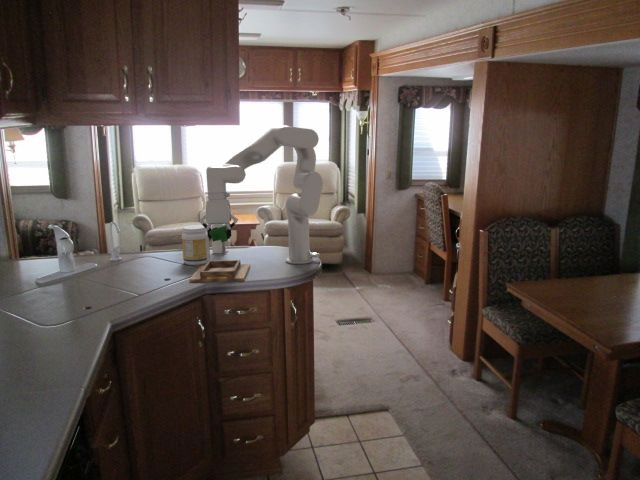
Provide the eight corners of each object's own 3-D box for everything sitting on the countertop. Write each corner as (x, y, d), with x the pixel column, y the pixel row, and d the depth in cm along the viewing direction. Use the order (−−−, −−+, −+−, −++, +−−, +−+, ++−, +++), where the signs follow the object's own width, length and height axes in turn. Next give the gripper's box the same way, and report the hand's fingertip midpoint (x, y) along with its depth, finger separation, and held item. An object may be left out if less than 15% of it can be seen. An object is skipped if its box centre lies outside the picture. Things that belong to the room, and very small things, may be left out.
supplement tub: (190, 258, 238) (188, 224, 234) (214, 259, 235) (212, 224, 232) (178, 265, 226) (176, 229, 222) (203, 266, 224) (201, 229, 220)
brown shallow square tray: (250, 266, 221) (249, 258, 221) (244, 281, 200) (243, 272, 199) (201, 267, 221) (200, 259, 220) (189, 282, 199) (188, 273, 199)
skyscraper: (208, 254, 246) (205, 199, 240) (213, 251, 254) (209, 197, 248) (225, 254, 245) (222, 198, 239) (229, 251, 253) (226, 196, 247)
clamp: (218, 248, 212) (214, 228, 213) (232, 244, 212) (227, 224, 213) (210, 243, 200) (206, 222, 202) (224, 239, 200) (220, 218, 202)
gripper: (239, 194, 207) (241, 236, 211) (198, 195, 207) (200, 237, 211) (237, 197, 200) (239, 240, 204) (194, 198, 200) (197, 240, 203)
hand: (219, 238), depth 207 cm, fingers closed on clamp, 7 cm apart
